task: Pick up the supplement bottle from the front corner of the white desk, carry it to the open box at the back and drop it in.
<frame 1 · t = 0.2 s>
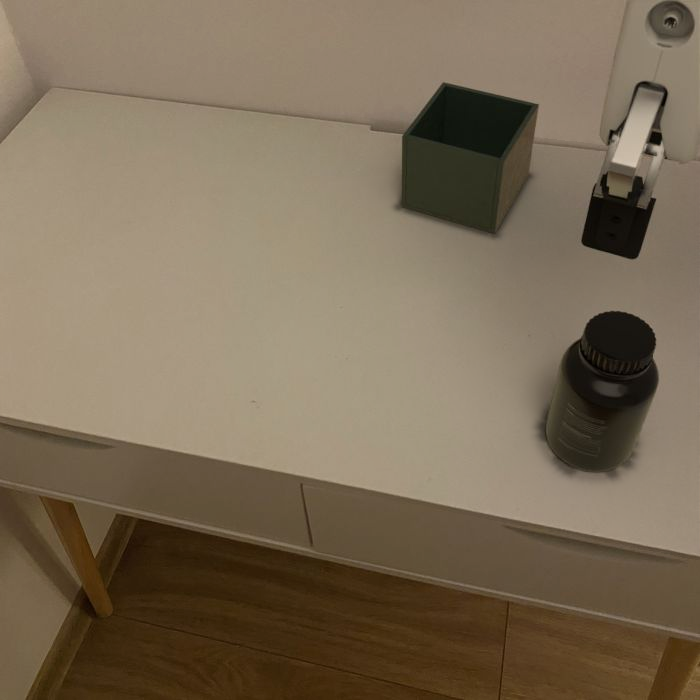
hand: (631, 198, 49), 22 cm above the table, tool pointing down, fingers open, 9 cm apart
open box: (465, 190, 85), on the table
supplement bottle: (588, 438, 65), on the table
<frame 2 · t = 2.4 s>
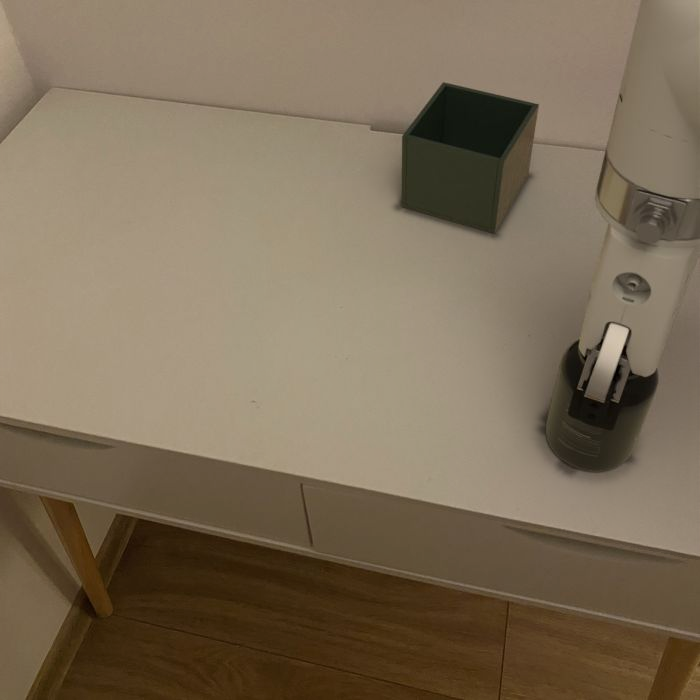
hand: (606, 380, 59), 7 cm above the table, tool pointing down, fingers closed on supplement bottle, 6 cm apart
supplement bottle: (588, 438, 65), on the table, touching gripper
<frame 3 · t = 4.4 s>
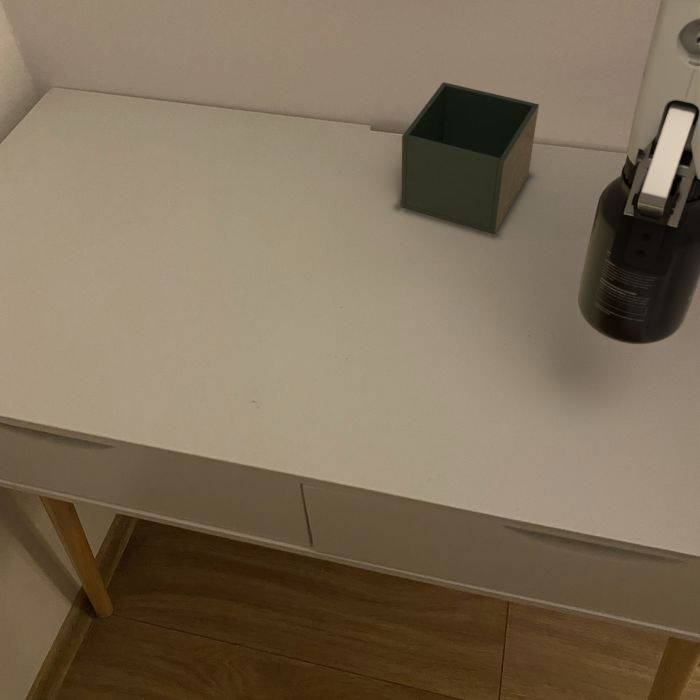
hand: (654, 224, 48), 22 cm above the table, tool pointing down, fingers closed on supplement bottle, 6 cm apart
supplement bottle: (628, 311, 54), point 14 cm above the table, touching gripper
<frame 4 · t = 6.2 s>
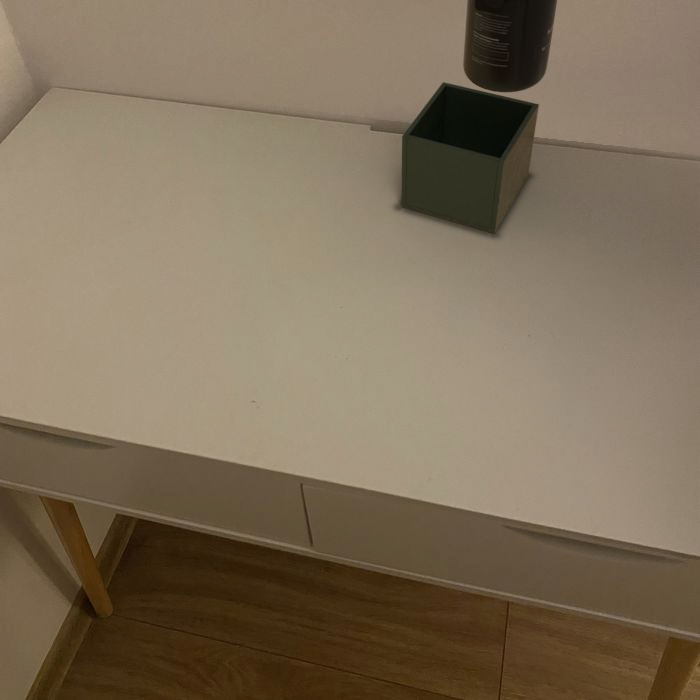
supplement bottle: (503, 74, 68), point 17 cm above the table, touching gripper
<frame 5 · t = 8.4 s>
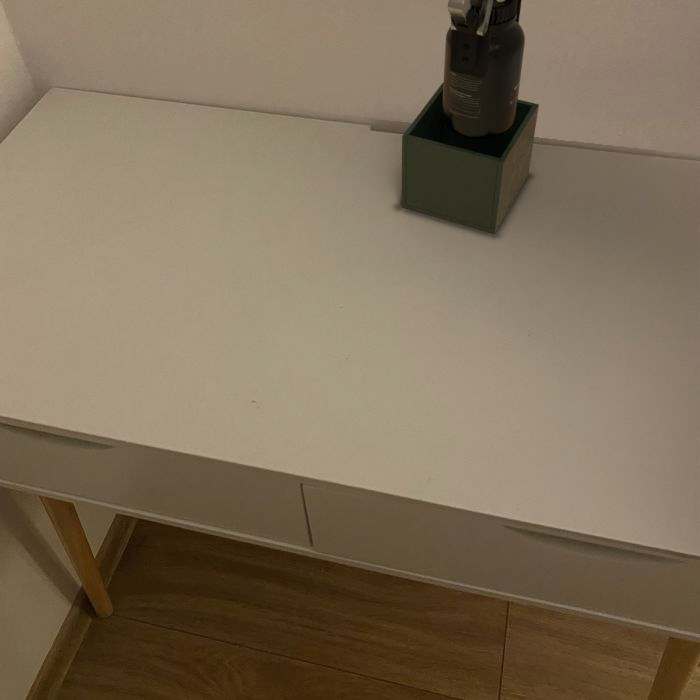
hand: (484, 50, 72), 16 cm above the table, tool pointing down, fingers closed on supplement bottle, 6 cm apart
supplement bottle: (478, 122, 77), point 9 cm above the table, touching gripper
when the fingers open (13 cm above the table, at t = 9.9 s): supplement bottle drops 5 cm, resting on open box.
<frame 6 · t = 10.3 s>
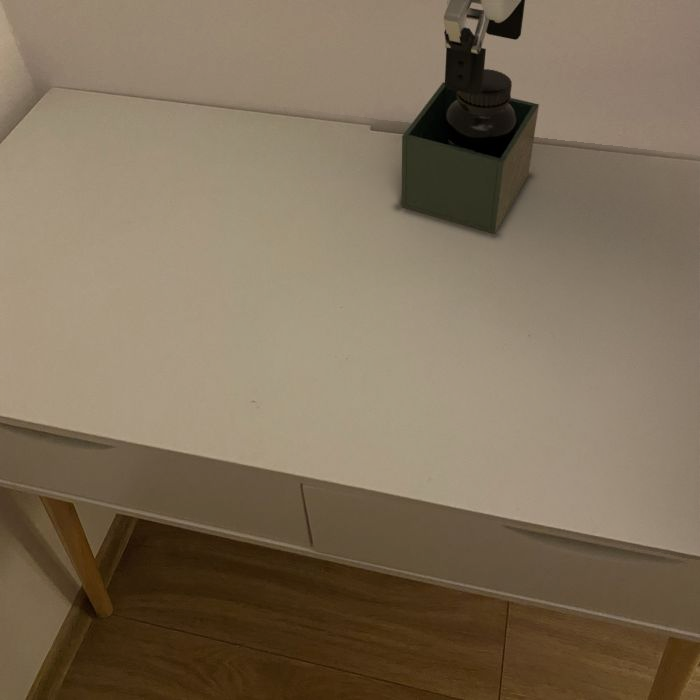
hand: (483, 61, 72), 15 cm above the table, tool pointing down, fingers open, 9 cm apart
supplement bottle: (471, 192, 84), point 1 cm above the table, touching open box
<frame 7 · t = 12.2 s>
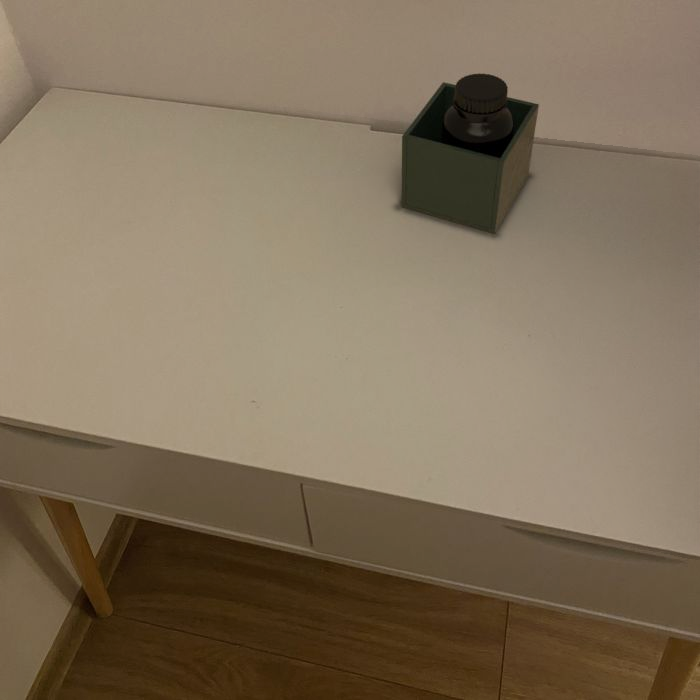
nothing on the table moved.
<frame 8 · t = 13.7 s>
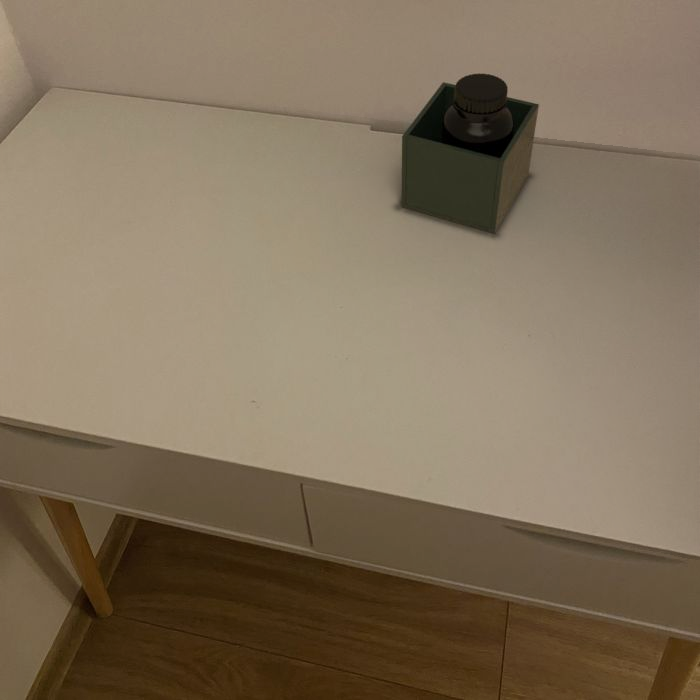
nothing on the table moved.
at the end: supplement bottle inside the target area in the open box (1.0 cm from its centre), point 0.3 cm above the open box's base; the gripper is holding nothing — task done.
